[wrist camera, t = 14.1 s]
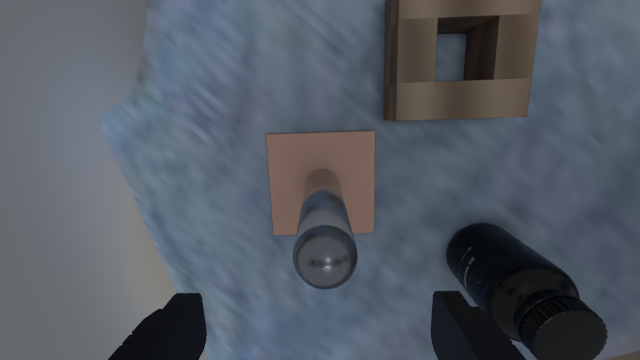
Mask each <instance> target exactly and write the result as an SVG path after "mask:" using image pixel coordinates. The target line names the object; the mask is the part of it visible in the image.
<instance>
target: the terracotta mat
mask: <svg viewBox="0 0 640 360" xmlns="http://www.w3.org/2000/svg"><path fill="white" fill-rule="evenodd" d="M266 139H267V152H268V166H269V179H270V192H271V206H272V219H273V232H274V235H296V234H297V229H298V223H299V218H300V213H301V207H302V202H303V197H304V192H305V186H306V181H307V179H308V177H309V175H310V174H311V173H312V172H314V171H316V170H318V169H327V170H330V171H332V172H333V173H334V174H335V175H336V176H337V178H338V180H339V183H340V187H341V191H342V195H343V198H344V202H345V206H346V210H347V214H348V218H349V221H350V225H351V229H352V233H374V157H375V131H373V130H367V131H337V132H307V133H278V134H267V135H266Z"/></svg>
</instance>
